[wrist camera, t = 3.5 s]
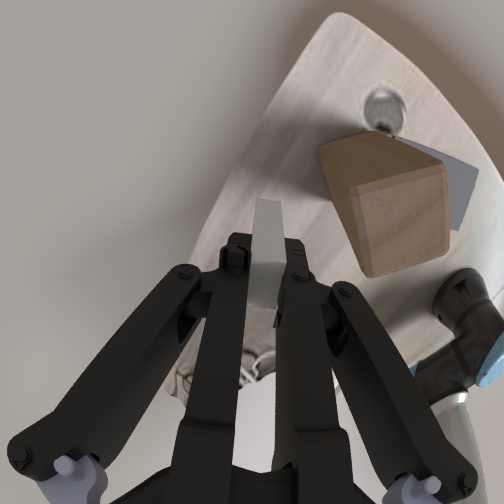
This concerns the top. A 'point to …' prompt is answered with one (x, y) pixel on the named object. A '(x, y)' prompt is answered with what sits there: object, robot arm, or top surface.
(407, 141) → the mat
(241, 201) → the top surface
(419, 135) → the top surface
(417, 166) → the block
